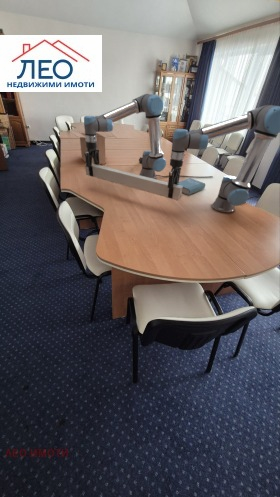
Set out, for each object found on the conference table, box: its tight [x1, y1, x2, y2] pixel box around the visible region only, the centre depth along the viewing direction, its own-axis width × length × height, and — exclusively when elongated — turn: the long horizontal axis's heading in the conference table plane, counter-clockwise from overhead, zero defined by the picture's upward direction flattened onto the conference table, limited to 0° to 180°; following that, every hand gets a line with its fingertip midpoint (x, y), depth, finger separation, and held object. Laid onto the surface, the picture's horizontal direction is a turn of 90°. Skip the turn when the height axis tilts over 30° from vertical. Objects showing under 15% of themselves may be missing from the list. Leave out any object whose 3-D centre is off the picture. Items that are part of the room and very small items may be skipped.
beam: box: [84, 163, 183, 201], centre depth 154 cm, size 76×5×8 cm, turn 60°
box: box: [70, 130, 114, 165], centre depth 229 cm, size 44×36×27 cm
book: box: [178, 177, 206, 196], centre depth 186 cm, size 23×16×5 cm
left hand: (93, 174), depth 168 cm, fingers closed on beam, 5 cm apart
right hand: (171, 196), depth 143 cm, fingers closed on beam, 5 cm apart
